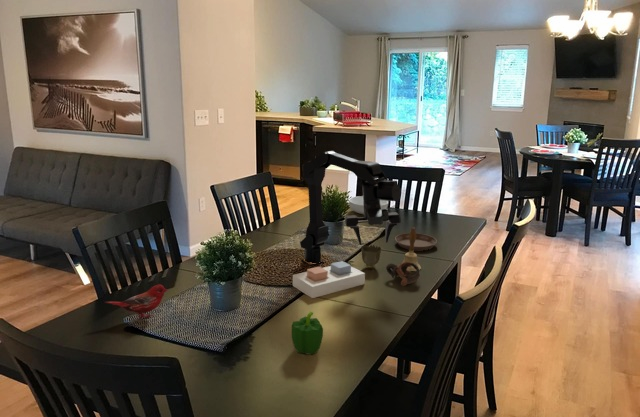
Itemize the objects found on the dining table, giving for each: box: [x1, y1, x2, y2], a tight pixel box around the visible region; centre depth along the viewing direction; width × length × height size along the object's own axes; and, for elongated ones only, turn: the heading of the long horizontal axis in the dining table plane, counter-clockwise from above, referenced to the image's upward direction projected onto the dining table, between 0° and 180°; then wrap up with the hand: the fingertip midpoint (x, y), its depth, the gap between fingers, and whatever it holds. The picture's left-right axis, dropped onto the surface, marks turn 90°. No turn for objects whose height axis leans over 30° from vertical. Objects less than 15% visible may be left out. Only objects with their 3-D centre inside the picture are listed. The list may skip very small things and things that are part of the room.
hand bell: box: [402, 227, 422, 272], centre depth 192 cm, size 8×8×16 cm
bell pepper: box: [291, 311, 324, 355], centre depth 133 cm, size 8×8×10 cm
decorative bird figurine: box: [104, 284, 169, 318], centre depth 149 cm, size 3×18×10 cm, turn 107°
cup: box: [360, 244, 382, 270], centre depth 192 cm, size 8×7×8 cm
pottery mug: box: [385, 261, 421, 287], centre depth 181 cm, size 12×10×8 cm
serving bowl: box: [348, 195, 389, 216], centre depth 270 cm, size 21×21×7 cm
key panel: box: [292, 265, 366, 299], centre depth 176 cm, size 12×22×4 cm, turn 125°
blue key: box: [330, 260, 352, 276], centre depth 178 cm, size 5×5×3 cm
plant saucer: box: [394, 232, 438, 252], centre depth 220 cm, size 18×18×3 cm
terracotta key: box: [306, 266, 328, 282], centre depth 173 cm, size 5×5×3 cm
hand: (373, 243), depth 178 cm, fingers open, 9 cm apart
